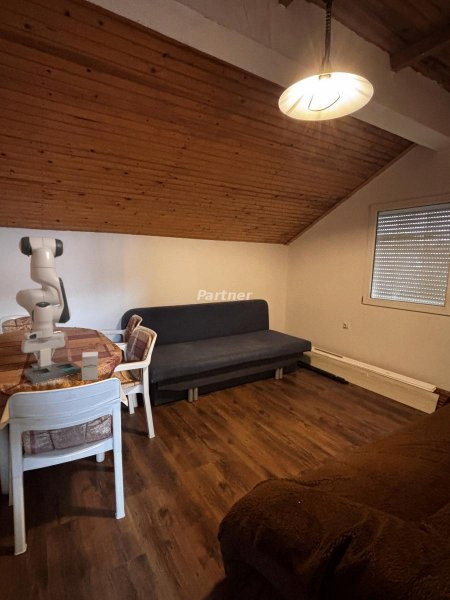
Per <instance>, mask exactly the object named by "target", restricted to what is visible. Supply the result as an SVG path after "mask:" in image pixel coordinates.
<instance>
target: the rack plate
mask: <svg viewBox="0 0 450 600" xmlns="http://www.w3.org/2000/svg"><path fill="white" fill-rule="evenodd" d="M23 372H24V377H25V376H26V377H27V378H28V379H29V380H30V381H31V382H32V383H33V384H34V385H37V384H36V383H39V382H43V381H46V380H49V379H54V378H59V377H63V376H67V375H71V374H77V373H81V374H82V366H81V367H80V366H79V365H78V364H77V363H75V362H74V361H72V360H68V361H62V362H58V363H56V364H52V365H47V366H42V367H37V368H33V367H31V368H28V369H24V371H23ZM38 374H39V375H38ZM77 375H78V374H77ZM26 377H25V378H26ZM27 378H26V379H27ZM28 379H27V380H28ZM29 380H28V381H29ZM30 381H29V382H30ZM31 382H30V383H31ZM32 383H31V384H32ZM43 383H44V382H43ZM33 384H32V385H33ZM39 384H40V383H39Z"/></svg>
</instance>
